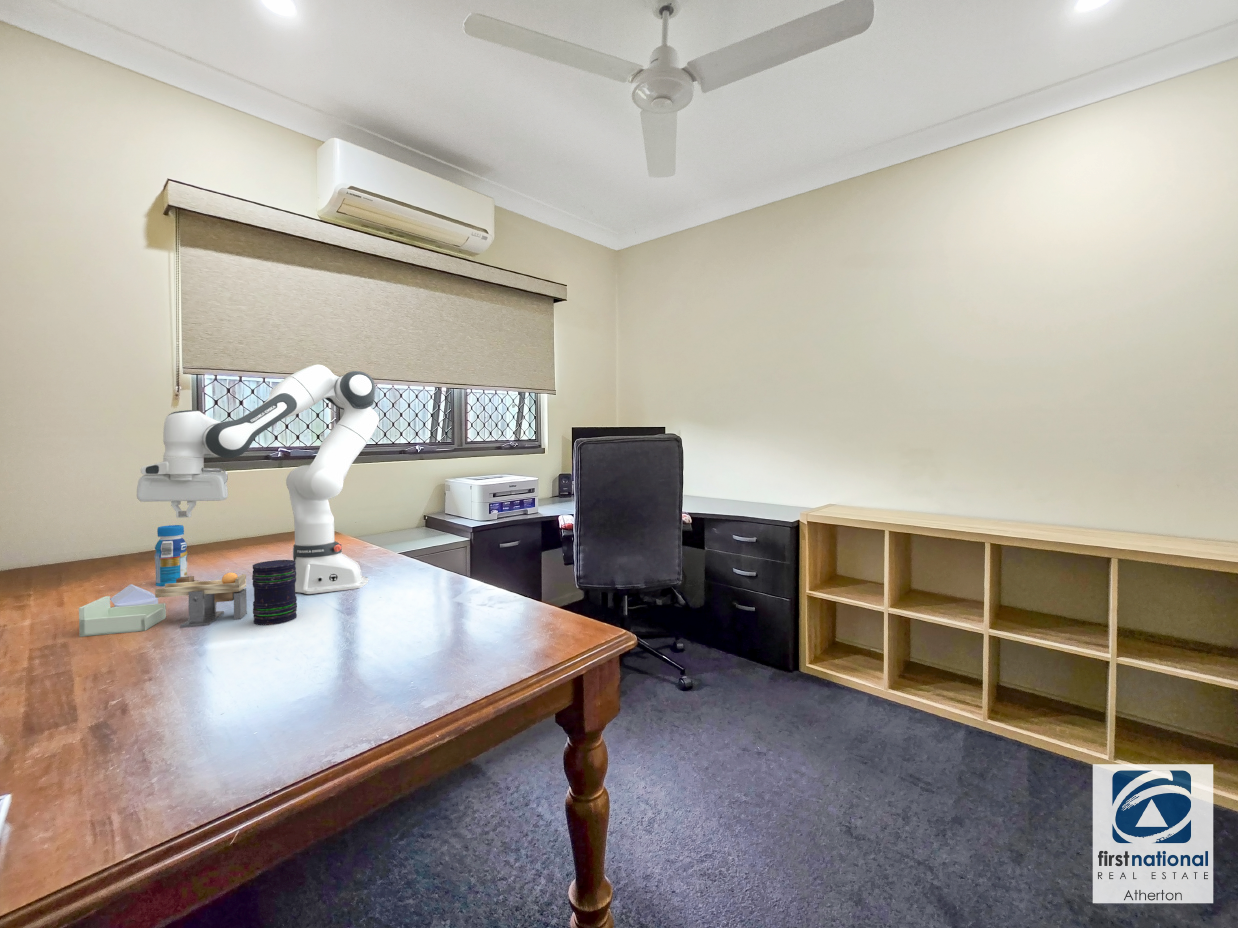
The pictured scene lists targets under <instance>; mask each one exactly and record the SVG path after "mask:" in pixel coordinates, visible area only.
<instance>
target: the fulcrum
mask: <svg viewBox="0 0 1238 928" xmlns="http://www.w3.org/2000/svg"><path fill="white" fill-rule="evenodd" d="M247 595H248V594H247V588H246V587H245V588H243V589H242V590H240V591H239V592H235V593H234V600H233V620H234V621H235V620H241V619H243V618H244V617H245V616H246V615H247V614H248V610H247V609H248V607H247V606H248V605H247V604H248V603H247V601H248V600H247ZM187 596H188V619H187V620H186V621H184V622H182V624H180V625H179V626H180V628H181V629H182V628H191V627H201V626H203V627H204V626H210V625H211V624H212V623H213V622H214V621H216V620H217V619H219V618H220V617H222V615H224V614H225V610H220V611H219V610H218V611H217V602H215V599H214V593H213V594H204V590H202V591H190V592H188V595H187Z"/></svg>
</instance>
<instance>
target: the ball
mask: <svg viewBox="0 0 1238 928" xmlns="http://www.w3.org/2000/svg"><path fill="white" fill-rule="evenodd" d="M237 577H239V575H238V574H236V573H235V572H227V573H225V574H224V575H223V576H222V578H221V580H222V583H223V584H228V583H235V579H236V578H237Z"/></svg>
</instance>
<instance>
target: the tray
mask: <svg viewBox="0 0 1238 928" xmlns="http://www.w3.org/2000/svg"><path fill="white" fill-rule="evenodd" d="M110 598H111V595H107V596H106V595H105V596H103V597H100V598H98V599H96V600H94V601H91V602H89V603H86V604H85V605H83V606H82V605H81V606H80V607H78V621H79V623H78V624H79V627H78V629H79V630H78V632H79V638H81V637H92V636H102V635H103V636H104V635H111V634H112V635H114V634H116V635H117V634H125V633H137V632H145V631H148V630H149V629H150V628H152V627H154V626H155V625H157V624H158V623H160V622H162V621H163V620H165V619H166V618H167V614H166V612H167V611H166V609H167V607H166V602H163V603H158V604H148V605H135V606H123V607H114V606H112V607H111V600H110Z"/></svg>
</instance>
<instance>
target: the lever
mask: <svg viewBox="0 0 1238 928" xmlns="http://www.w3.org/2000/svg"><path fill="white" fill-rule="evenodd" d="M246 587H247V574H246V573H244V574H243V573H242V574H240V575H238V577H237V578H236V579H235V583H228V584H223V583H222V579H215V580H201V581H199V579H198V580H197V579H195V576H194V575H191V576H189V575H188V576H187V577H180V578H178V579H176V583H170V584H165V586H164V587H160V588H159V587H158V588H155V589H154V593H155V594H154V595H155V598H158V599H159V598H170V597H171V598H172V597H183V596H184V597H185V596H188V592H190V591H202V590H204V594H213V593H214V599H215V602H216V603H222V602H223V603H225V602H234V593H235V592H239V591H240V590H242V589H245V588H246Z"/></svg>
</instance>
